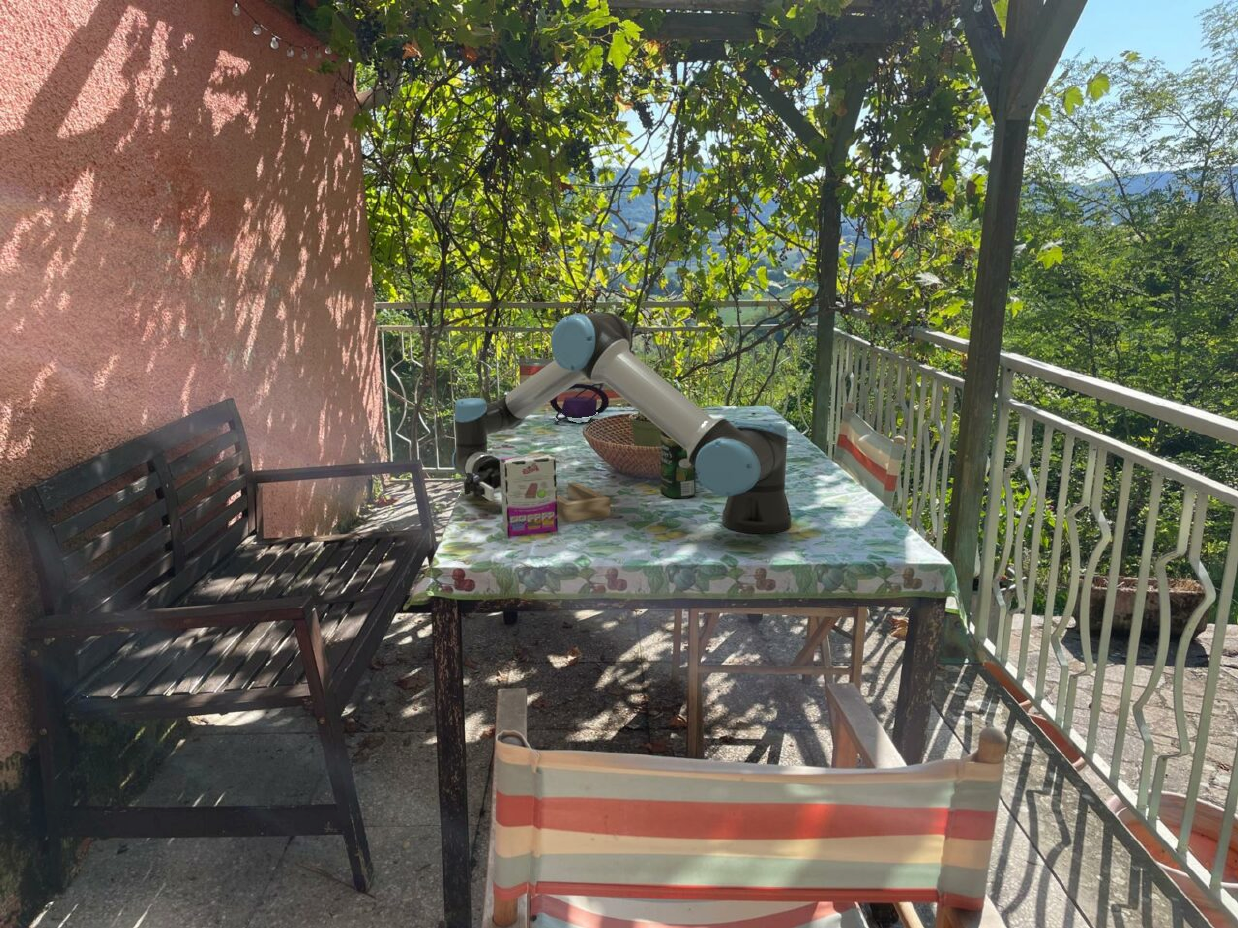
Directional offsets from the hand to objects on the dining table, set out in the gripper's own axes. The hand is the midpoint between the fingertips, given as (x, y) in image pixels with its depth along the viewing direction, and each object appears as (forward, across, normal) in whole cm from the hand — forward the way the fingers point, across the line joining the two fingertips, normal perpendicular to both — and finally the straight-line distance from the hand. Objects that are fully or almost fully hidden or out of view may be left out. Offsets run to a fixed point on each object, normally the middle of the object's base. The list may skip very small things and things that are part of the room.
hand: (522, 490), depth 180 cm
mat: (-8, -15, -9) cm, 19 cm away
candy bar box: (+2, 0, -9) cm, 9 cm away
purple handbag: (-113, -71, -9) cm, 134 cm away
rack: (-8, -15, -8) cm, 19 cm away
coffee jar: (-9, -45, -9) cm, 47 cm away
